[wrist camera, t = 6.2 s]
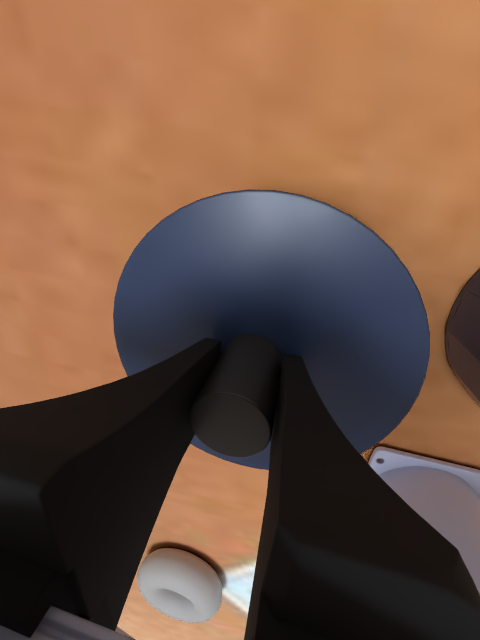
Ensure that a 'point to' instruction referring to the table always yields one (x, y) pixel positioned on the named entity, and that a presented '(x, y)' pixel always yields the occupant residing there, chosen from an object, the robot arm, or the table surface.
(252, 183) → the table surface
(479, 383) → the pot
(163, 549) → the donut
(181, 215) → the lid
